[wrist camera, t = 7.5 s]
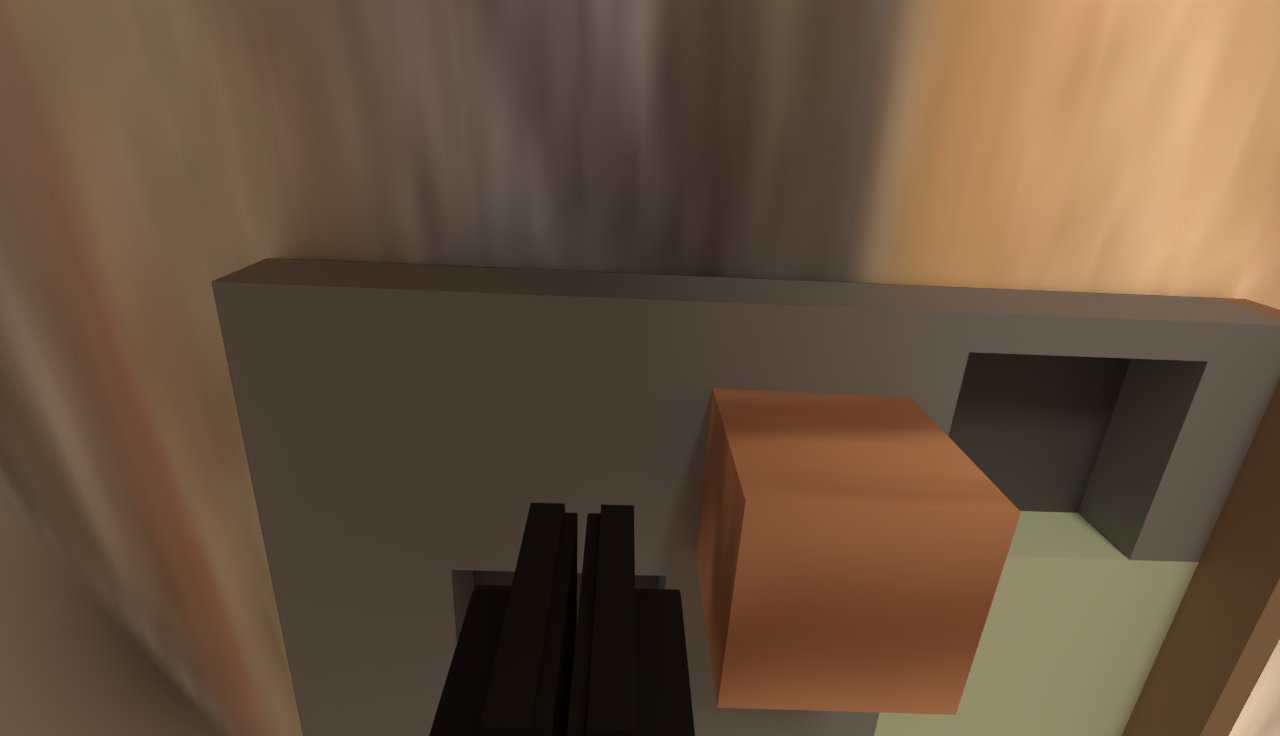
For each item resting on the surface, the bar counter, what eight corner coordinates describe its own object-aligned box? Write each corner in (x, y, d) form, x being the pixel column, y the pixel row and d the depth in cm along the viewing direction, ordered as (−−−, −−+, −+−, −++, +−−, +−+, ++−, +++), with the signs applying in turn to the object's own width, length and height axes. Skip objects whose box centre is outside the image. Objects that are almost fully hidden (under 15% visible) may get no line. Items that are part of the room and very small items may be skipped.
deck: (267, 258, 17) (152, 306, 13) (1245, 299, 18) (1428, 356, 14) (337, 680, 23) (273, 808, 19) (1084, 698, 24) (1181, 824, 20)
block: (712, 388, 16) (745, 500, 12) (911, 397, 16) (1021, 512, 12) (695, 553, 18) (717, 707, 13) (873, 560, 18) (956, 715, 14)
